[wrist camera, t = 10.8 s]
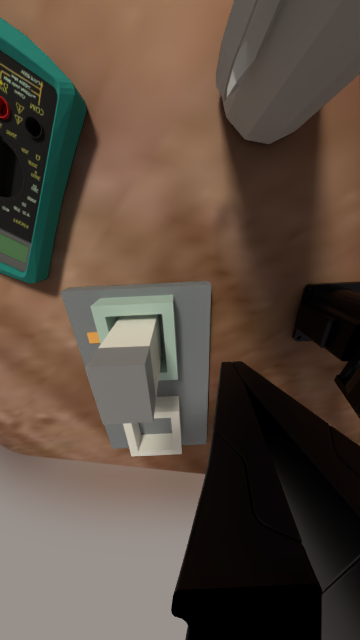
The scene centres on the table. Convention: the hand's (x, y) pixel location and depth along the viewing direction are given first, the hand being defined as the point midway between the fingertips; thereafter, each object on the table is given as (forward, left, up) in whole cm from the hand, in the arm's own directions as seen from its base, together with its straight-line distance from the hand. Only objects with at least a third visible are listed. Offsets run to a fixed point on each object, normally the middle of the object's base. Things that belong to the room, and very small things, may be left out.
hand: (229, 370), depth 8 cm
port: (+6, +4, -10) cm, 13 cm away
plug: (+6, +4, -10) cm, 13 cm away
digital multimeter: (+14, -10, -13) cm, 22 cm away
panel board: (+6, +11, -12) cm, 17 cm away
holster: (+6, +17, -10) cm, 21 cm away
